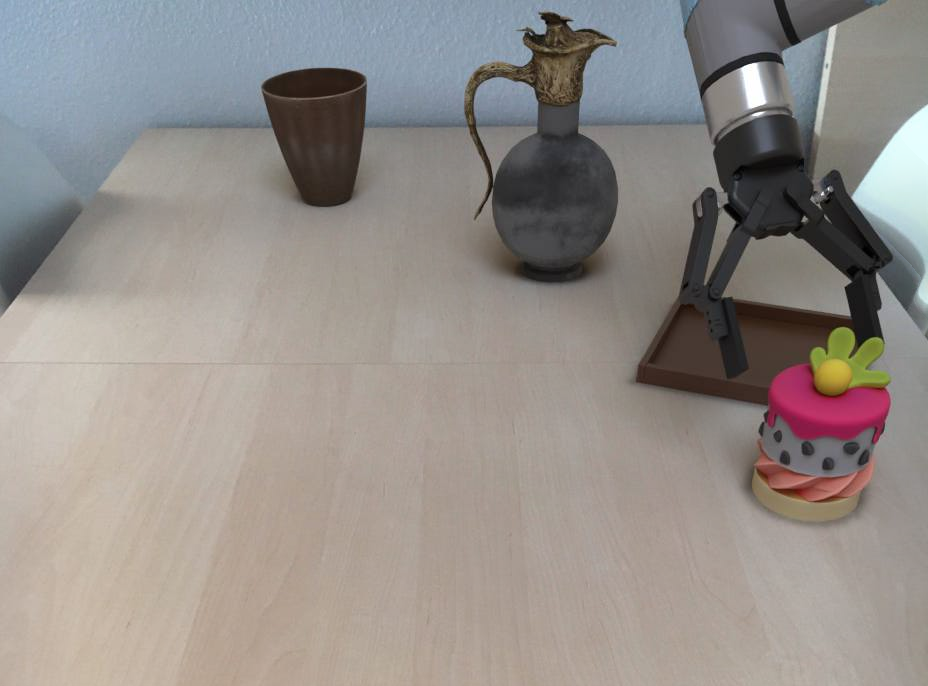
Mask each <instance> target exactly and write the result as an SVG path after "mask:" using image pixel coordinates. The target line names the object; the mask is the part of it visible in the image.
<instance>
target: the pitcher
mask: <svg viewBox="0 0 928 686" xmlns="http://www.w3.org/2000/svg"><path fill="white" fill-rule="evenodd" d="M537 13H538V15H540V20H542V21H544V24H545V25H546V27H545V28H546V29H545V33H541V34H538V33H536V32H535V31H534V30H533V29H532V28H530V27H529V26H526V27H525V28H521V29H516V30H515V31H516V32H524V35H523V37H522V41H523V46H525V47H527V48H528V49H529V50H530V51H531V52H532V56H531V59H530V60H529V61H528V62H527V63H525V65H522V66H519V65H514V64H511V63H509V62H505V61H500V60H497V61H491V62H488V63H484V64H482V65H481V66H479V67H478V68H476V70H475V71H474V72H473V73H472V74H471V76H470V78H469V80H468V82H467V84H466V87H465V89H464V100H463V101H464V102H463V107H464V108H463V109H464V110H463V111H464V117H465V119H466V124H467V127H468V130H469V134H470V137H471V139H472V141H473V143H474V146H475V148H476V150H477V153H478V154H479V156H480V158H481V160H482V162H483V165H484V167H485V172H486V174H487V186H486V191H485V194H484V197H483V198H482V201H481V203H480V204H479V206H478V208H477V210H476V211H475V213H474V218H473V221H475V220H476V219H477V218H478V216H479V215H481V213H482V211H483V209H484V207H485V204H487V202H488V200H489V198H490V195H491V193H492V195H491V211H492V219H493V222H494V226H495V229H496V231H497V234H498V235H499V238H500V240H501V242H502V243H503V244H504V246H505V247H506V249H508V251H509V252H511V253H512V254H513V255H514V256H515V257H517V258H518V259H520V260H521V261H523V262H522V264H521V265H520V269H521V274H522V275H523V276H525V277H526V278H527V279H530V280H533V281H536V282H543V283H544V282H545V283H563V282H568V281H569V282H570V281H573V280H575V279H576V278H579V277H580V275H581V274H582V272H583V264H582V261H584V260H586V259H588V258H589V257H590V256H592V255H593V254H594V253H596V252H597V251H598V250H599V248H601V246H602V245H603V244H604V243H605V241H606V239H607V238H608V236H609V234H610V233H611V230H612V227H613V225H614V221H615V219H616V216H617V211H618V205H619V185H618V179H617V174H616V170H615V168H614V164H613V162H612V160H611V158H610V156H609V155H608V154H607V152H606V151H605V149H603V148H602V147H601V146H600V144H598V143H597V142H596V141H594V140H593V139H592V138H590V137H588V136H586V135H584V134H583V133H579V125H580V123H579V122H580V107H581V99H582V96H583V93H584V72H585V69H586V65H587V62H588V61H589V60H590V59H591V57H592V54H593V53H594V52H595V51H596V50H597V49H598V48H600V47H602V46H610V47H615V48H617V46H618V45H617V44H618V41H617V40H615V39H613V38H612V37H611V36H609V35H607V34H604V33H603V32H601V31H599V30H597V29H593V28H579V29H577V30H573V29H572V28H571V27H570V25H569V24H568V22H570V23H572V22H575V19H574V18H571V17H568V16H563V15H562V16H561V14H558V13H556V12H552V11H538V12H537ZM494 78H503V79H507V80H509V81H511V82H512V81H513V82H515V83H519V82H520V83H524V84H526V85H528V86H529V87H530V88H533V90H534V95H535V98H536V101H537V124H536V126H537V128H536V129H537V130H536V132H535V133H532V134H531V135H528V136H527V137H525V138H522V139H521V140H519V141H518V142H517V143H515V145H513V146H511V148H510V150H509V151H508V152H507V153H506V155H505V156H504V157H503V159H502V161H501V162H500V165H499V166H498V169H497V171H496V174H495V178H494V173H493V168H492V164H491V160H490V158H489V156H488V154H487V151H486V149H485V146H484V144H483V141H482V139H481V138H480V135H479V133H478V129H477V119H476V116H475V108H474V107H475V97H476V93H477V90H478V88H479V87H480V86H481V85H482V84H483V83H484V82H486V81H488V80H491V79H494Z"/></svg>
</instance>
